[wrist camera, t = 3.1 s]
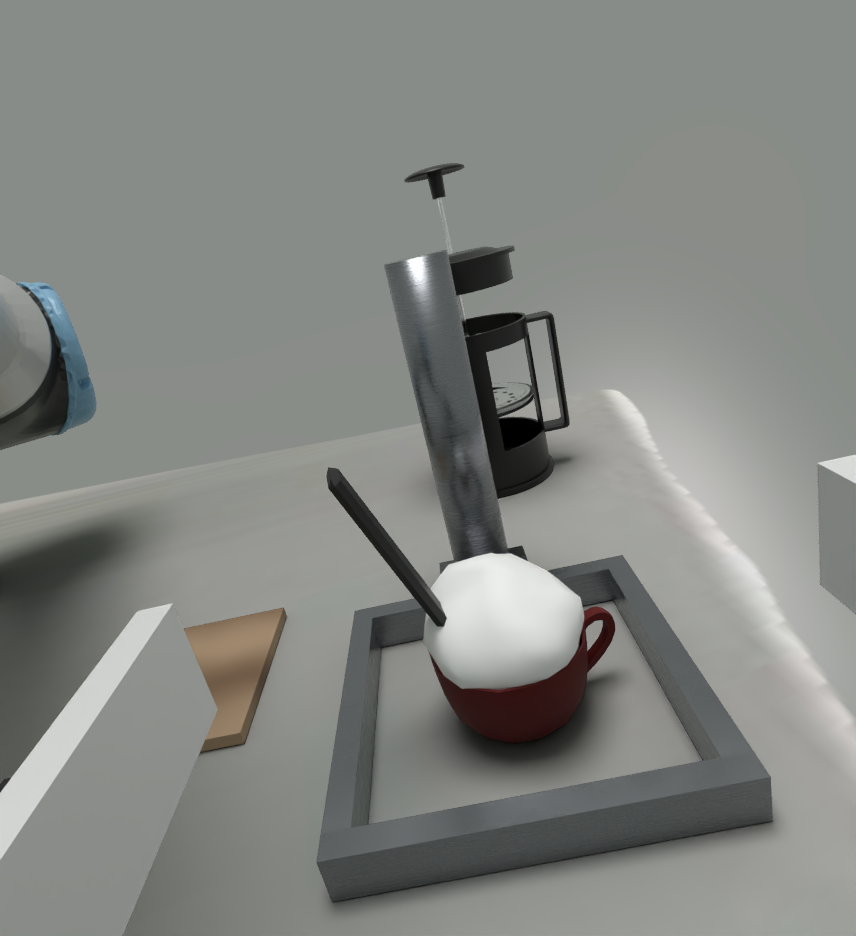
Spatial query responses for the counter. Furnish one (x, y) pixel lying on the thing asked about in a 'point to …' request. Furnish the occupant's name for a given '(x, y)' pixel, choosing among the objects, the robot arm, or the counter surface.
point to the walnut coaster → (235, 669)
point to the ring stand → (470, 534)
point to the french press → (511, 438)
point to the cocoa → (497, 634)
